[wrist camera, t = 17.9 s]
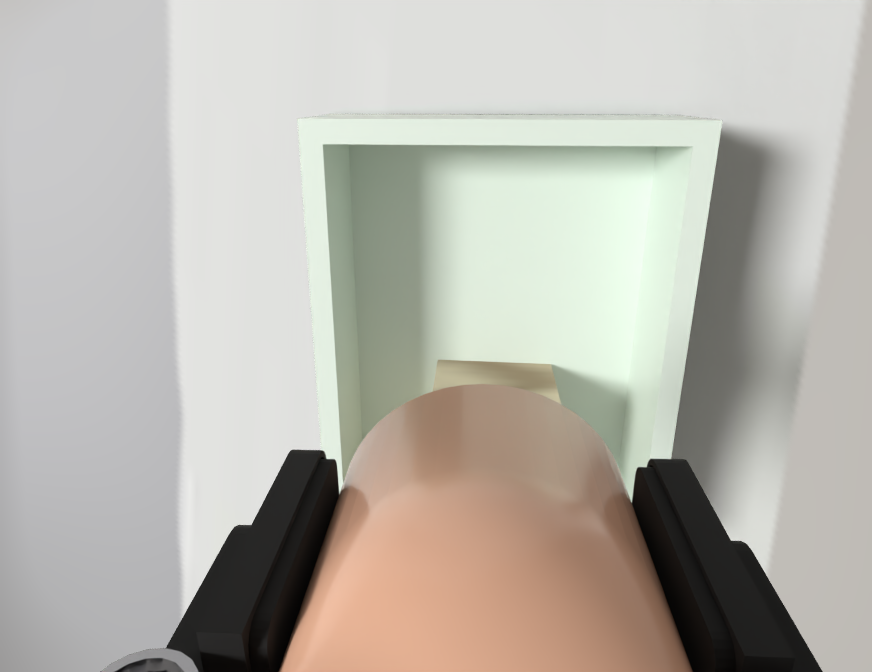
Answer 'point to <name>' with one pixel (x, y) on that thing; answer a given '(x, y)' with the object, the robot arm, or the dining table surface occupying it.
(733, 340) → the dining table surface
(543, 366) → the wooden cube
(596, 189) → the tote
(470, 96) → the dining table surface
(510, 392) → the terracotta cylinder
